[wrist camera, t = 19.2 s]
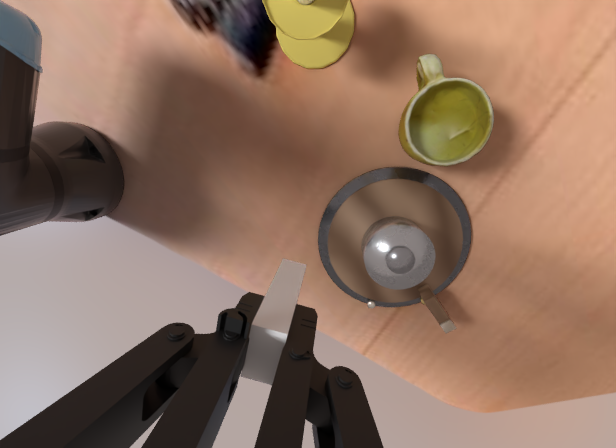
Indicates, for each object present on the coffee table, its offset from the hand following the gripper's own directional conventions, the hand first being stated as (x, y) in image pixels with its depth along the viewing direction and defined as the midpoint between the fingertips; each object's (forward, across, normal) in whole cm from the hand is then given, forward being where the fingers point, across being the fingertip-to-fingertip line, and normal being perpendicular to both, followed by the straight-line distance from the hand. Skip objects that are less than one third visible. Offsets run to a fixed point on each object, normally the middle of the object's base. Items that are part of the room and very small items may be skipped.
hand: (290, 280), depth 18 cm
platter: (+26, +14, -5) cm, 29 cm away
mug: (+27, +11, +14) cm, 32 cm away
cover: (+25, +12, -4) cm, 28 cm away
